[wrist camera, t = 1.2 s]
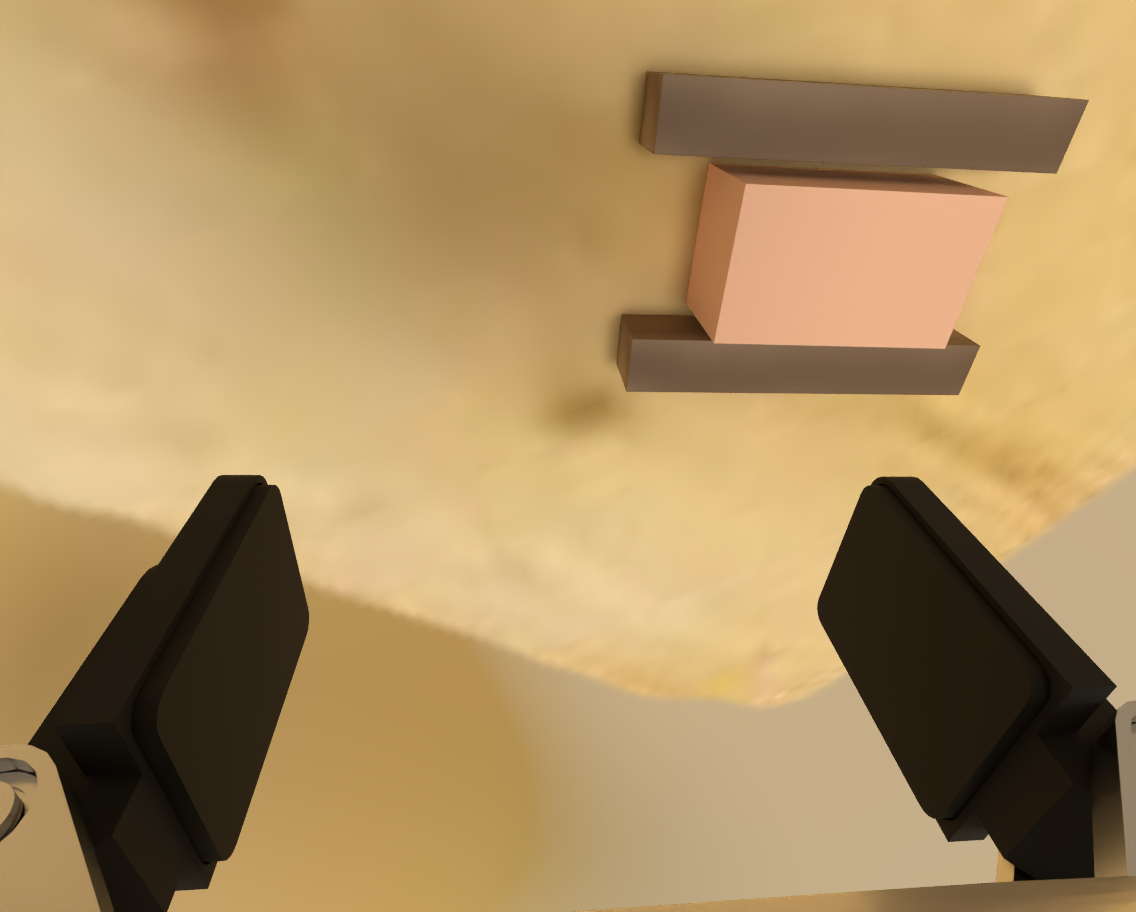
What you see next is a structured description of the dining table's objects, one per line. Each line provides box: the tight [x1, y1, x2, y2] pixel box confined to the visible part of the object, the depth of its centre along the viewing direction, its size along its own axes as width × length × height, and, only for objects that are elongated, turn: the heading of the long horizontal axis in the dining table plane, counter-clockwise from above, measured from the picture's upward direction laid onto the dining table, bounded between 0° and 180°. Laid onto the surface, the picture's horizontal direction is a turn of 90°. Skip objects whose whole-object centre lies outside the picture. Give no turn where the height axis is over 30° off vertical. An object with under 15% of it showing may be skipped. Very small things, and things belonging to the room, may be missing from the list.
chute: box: [617, 72, 1089, 395], centre depth 27 cm, size 12×16×3 cm
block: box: [686, 163, 1008, 349], centre depth 26 cm, size 6×10×5 cm, turn 87°
